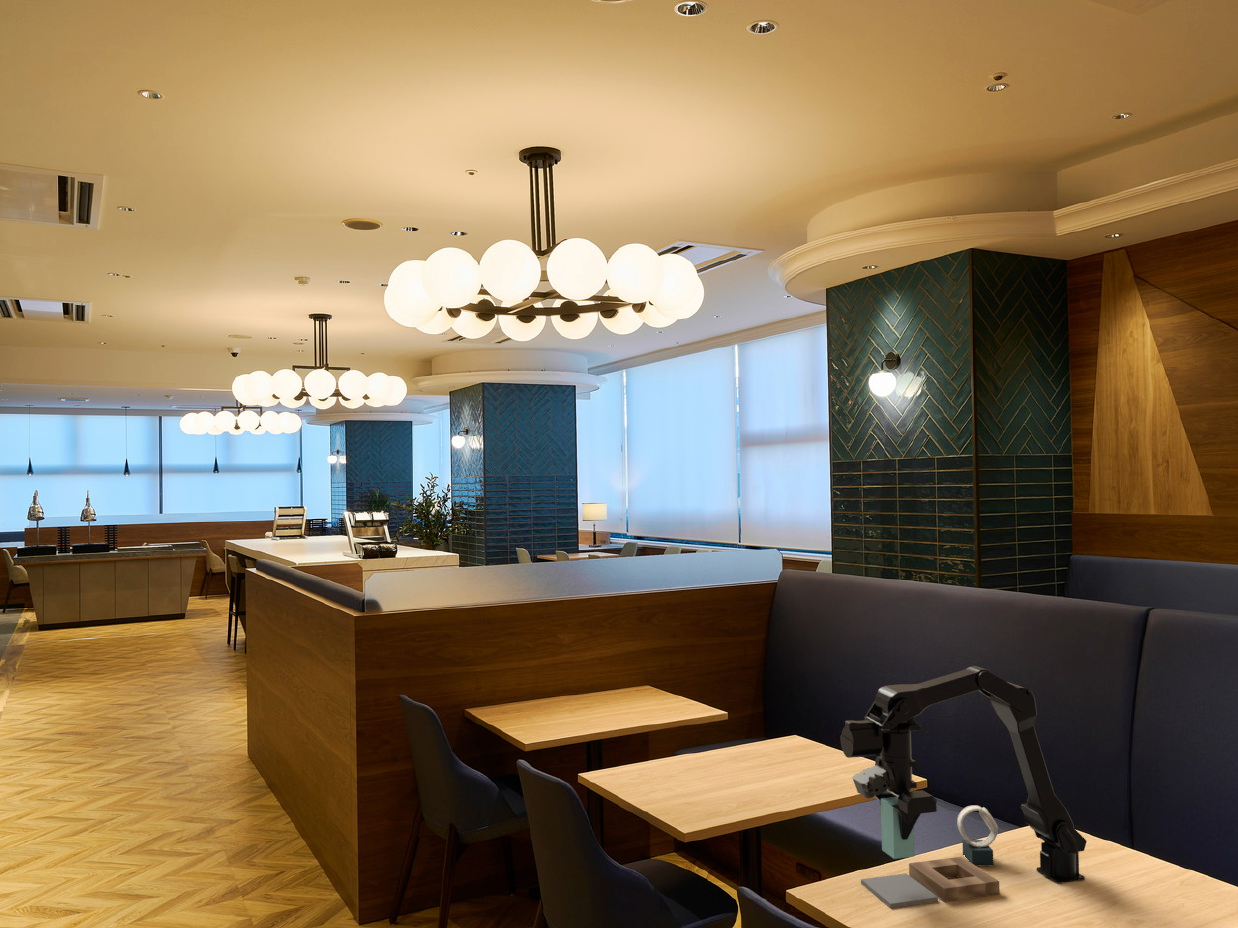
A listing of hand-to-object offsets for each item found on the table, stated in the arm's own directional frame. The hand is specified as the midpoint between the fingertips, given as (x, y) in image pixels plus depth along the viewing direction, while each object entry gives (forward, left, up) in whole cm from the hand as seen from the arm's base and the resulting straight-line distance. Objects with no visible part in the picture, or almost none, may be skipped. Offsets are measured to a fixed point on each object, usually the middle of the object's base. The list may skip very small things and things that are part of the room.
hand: (897, 834), depth 177 cm
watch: (-24, -9, -11) cm, 28 cm away
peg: (0, 0, -4) cm, 4 cm away
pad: (0, 0, -11) cm, 11 cm away
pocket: (-12, 0, -11) cm, 16 cm away
